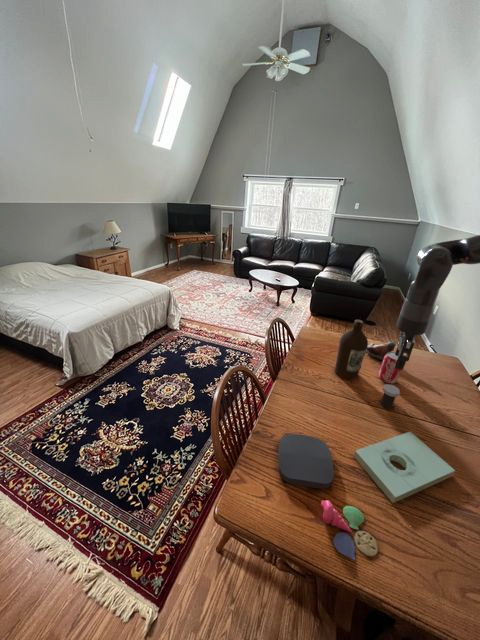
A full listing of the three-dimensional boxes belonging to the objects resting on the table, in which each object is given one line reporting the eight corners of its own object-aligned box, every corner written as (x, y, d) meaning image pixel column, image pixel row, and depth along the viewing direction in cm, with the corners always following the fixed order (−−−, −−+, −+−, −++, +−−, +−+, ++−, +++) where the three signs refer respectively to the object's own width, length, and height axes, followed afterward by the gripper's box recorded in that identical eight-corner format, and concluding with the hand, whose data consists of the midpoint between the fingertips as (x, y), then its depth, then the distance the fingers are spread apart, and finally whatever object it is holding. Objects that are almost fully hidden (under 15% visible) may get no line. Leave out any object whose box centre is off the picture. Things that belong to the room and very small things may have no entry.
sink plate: (407, 437, 86) (410, 431, 85) (451, 476, 74) (455, 470, 73) (353, 456, 79) (355, 450, 78) (392, 503, 67) (395, 497, 66)
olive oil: (328, 367, 119) (339, 316, 109) (349, 364, 122) (362, 314, 111) (341, 382, 110) (355, 328, 99) (364, 379, 112) (380, 326, 102)
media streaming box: (277, 483, 70) (279, 475, 69) (278, 437, 83) (279, 430, 82) (335, 492, 69) (337, 484, 67) (326, 444, 82) (328, 437, 81)
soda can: (399, 385, 110) (408, 360, 105) (382, 384, 110) (391, 360, 104) (390, 374, 116) (398, 351, 111) (374, 374, 116) (382, 350, 111)
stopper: (386, 397, 103) (391, 383, 100) (397, 406, 98) (403, 392, 95) (375, 400, 101) (380, 385, 98) (386, 410, 96) (392, 395, 94)
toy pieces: (322, 553, 57) (326, 542, 55) (318, 500, 67) (321, 488, 65) (382, 567, 55) (388, 556, 53) (368, 510, 65) (373, 499, 63)
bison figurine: (361, 354, 130) (366, 336, 126) (368, 349, 135) (373, 331, 131) (387, 365, 123) (393, 346, 118) (393, 359, 127) (399, 341, 123)
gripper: (432, 328, 71) (413, 377, 78) (427, 310, 82) (411, 354, 89) (400, 321, 74) (384, 369, 81) (400, 305, 85) (386, 348, 92)
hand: (398, 361), depth 85 cm, fingers open, 8 cm apart
